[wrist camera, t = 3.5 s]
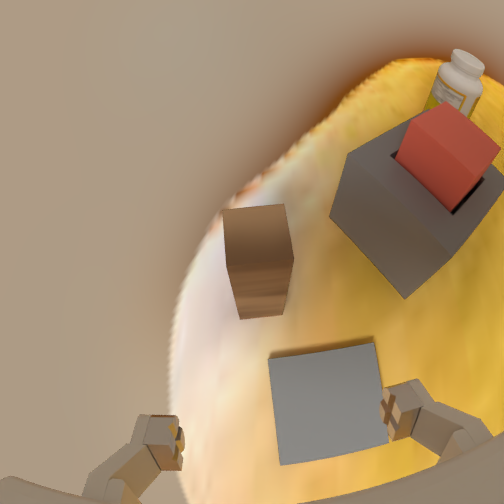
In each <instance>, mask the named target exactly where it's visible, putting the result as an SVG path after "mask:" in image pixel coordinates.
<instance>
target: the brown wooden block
mask: <svg viewBox="0 0 504 504" xmlns="http://www.w3.org/2000/svg"><path fill="white" fill-rule="evenodd" d="M222 211H223V226H224V240H225V254H226V267H227V271H228V275H229V279H230V283H231V286H232V290H233V294H234V298H235V302H236V306H237V310H238V313H239V317H240V320H241V319H250V318H260V317H268V316H277V315H282V314H283V310H284V305H285V300H286V296H287V291H288V286H289V282H290V277H291V272H292V267H293V262H294V256H293V250H292V244H291V239H290V233H289V228H288V223H287V217H286V212H285V207H284V204H276V205H266V206H256V207H246V208H237V209H227V210H222Z"/></svg>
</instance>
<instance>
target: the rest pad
mask: <svg viewBox="0 0 504 504" xmlns="http://www.w3.org/2000/svg"><path fill="white" fill-rule="evenodd" d="M268 365H269V373H270V382H271V390H272V399H273V407H274V416H275V424H276V433H277V441H278V450H279V459H280V465H289V464H296V463H303V462H309V461H314V460H320V459H325V458H330V457H335V456H340V455H345V454H349V453H353V452H357V451H361V450H365V449H369V448H373V447H377V446H380V445H384V444H387V443H389V439H388V432H387V425H386V424H384V423H383V422H382V420H381V417H380V412H379V406H380V402H381V401H382V400H383V396H382V386H381V380H380V374H379V368H378V362H377V356H376V351H375V345H374V342H373V343H368V344H363V345H358V346H352V347H347V348H341V349H335V350H329V351H323V352H317V353H310V354H304V355H296V356H289V357H281V358H273V359H268Z"/></svg>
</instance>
